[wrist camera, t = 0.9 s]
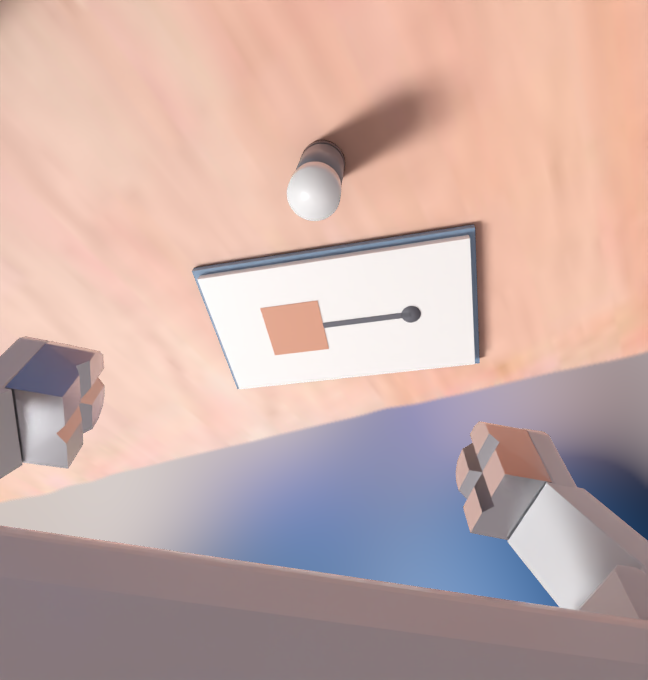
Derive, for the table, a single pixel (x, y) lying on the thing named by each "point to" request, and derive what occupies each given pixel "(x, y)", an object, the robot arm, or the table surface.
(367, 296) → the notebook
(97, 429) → the table surface
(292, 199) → the white-topped grey cylinder
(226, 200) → the table surface
